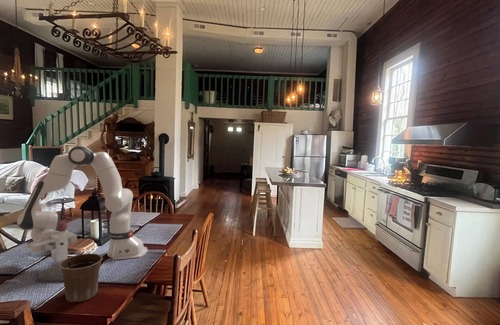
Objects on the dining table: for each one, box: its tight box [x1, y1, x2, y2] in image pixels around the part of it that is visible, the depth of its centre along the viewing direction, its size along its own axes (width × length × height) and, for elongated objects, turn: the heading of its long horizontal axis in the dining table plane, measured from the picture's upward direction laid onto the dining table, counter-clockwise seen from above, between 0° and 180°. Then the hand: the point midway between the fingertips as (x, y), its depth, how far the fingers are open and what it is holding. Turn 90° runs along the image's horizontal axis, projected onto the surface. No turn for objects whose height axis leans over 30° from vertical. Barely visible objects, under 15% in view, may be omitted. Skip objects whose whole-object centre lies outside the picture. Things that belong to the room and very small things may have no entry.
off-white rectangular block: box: [50, 233, 69, 262], centre depth 140 cm, size 5×6×12 cm
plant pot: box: [59, 252, 103, 303], centre depth 123 cm, size 16×16×16 cm
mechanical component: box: [57, 219, 68, 231], centre depth 188 cm, size 12×10×10 cm
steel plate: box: [36, 263, 64, 283], centre depth 141 cm, size 14×14×2 cm
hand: (60, 246), depth 139 cm, fingers closed on off-white rectangular block, 5 cm apart
